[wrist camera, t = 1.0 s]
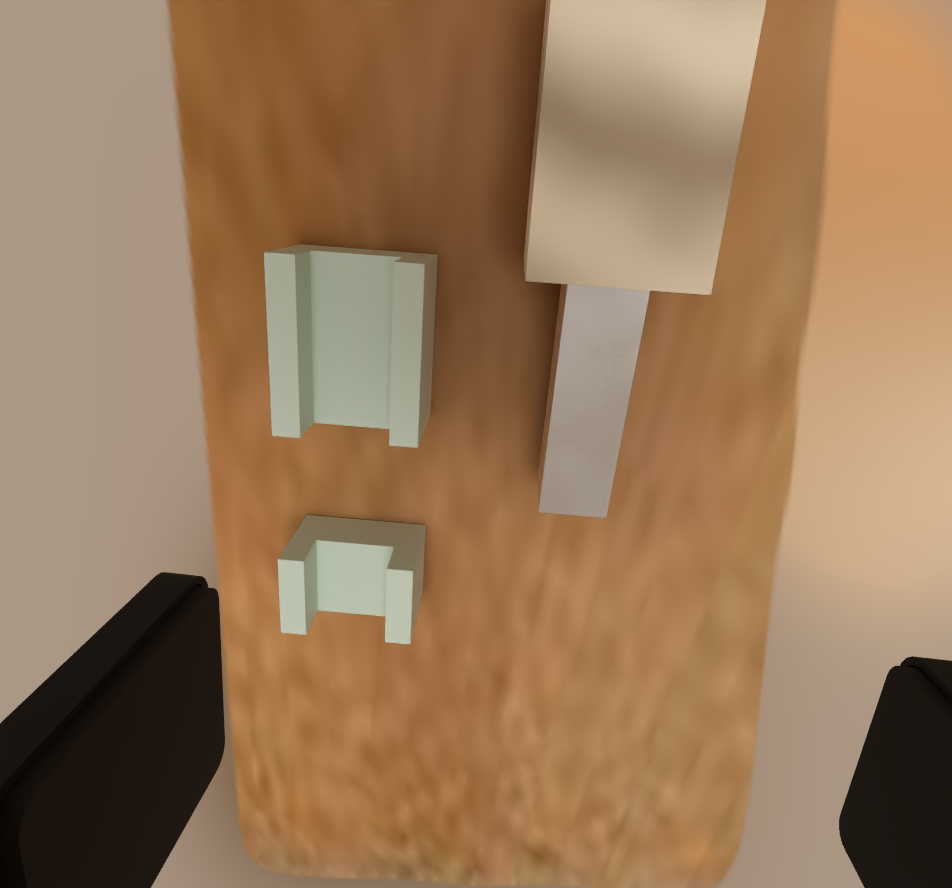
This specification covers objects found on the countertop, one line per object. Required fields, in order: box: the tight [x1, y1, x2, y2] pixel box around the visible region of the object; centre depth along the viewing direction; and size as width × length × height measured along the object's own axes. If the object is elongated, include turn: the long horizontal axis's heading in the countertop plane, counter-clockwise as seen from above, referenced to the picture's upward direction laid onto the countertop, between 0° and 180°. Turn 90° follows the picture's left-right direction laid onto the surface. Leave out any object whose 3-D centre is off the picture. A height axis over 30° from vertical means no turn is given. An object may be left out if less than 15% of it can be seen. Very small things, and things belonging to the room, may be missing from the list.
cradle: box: [264, 244, 438, 644], centre depth 31 cm, size 18×6×4 cm, turn 176°
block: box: [523, 0, 766, 295], centre depth 24 cm, size 10×6×8 cm, turn 176°
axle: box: [538, 284, 650, 518], centre depth 27 cm, size 16×3×3 cm, turn 177°
